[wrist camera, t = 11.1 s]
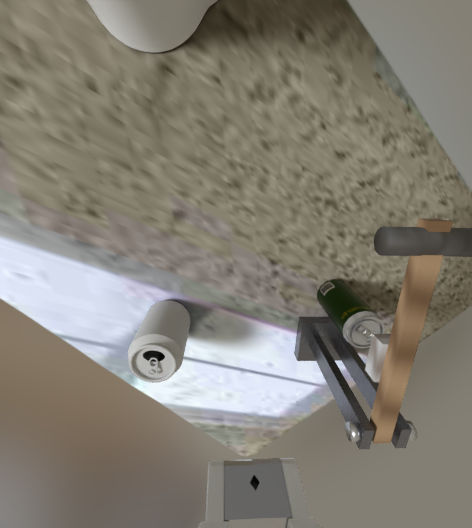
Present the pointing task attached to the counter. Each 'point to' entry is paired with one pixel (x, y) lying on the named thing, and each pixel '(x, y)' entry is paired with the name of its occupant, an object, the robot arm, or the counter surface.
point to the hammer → (408, 310)
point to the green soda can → (349, 313)
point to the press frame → (338, 348)
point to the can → (160, 342)
